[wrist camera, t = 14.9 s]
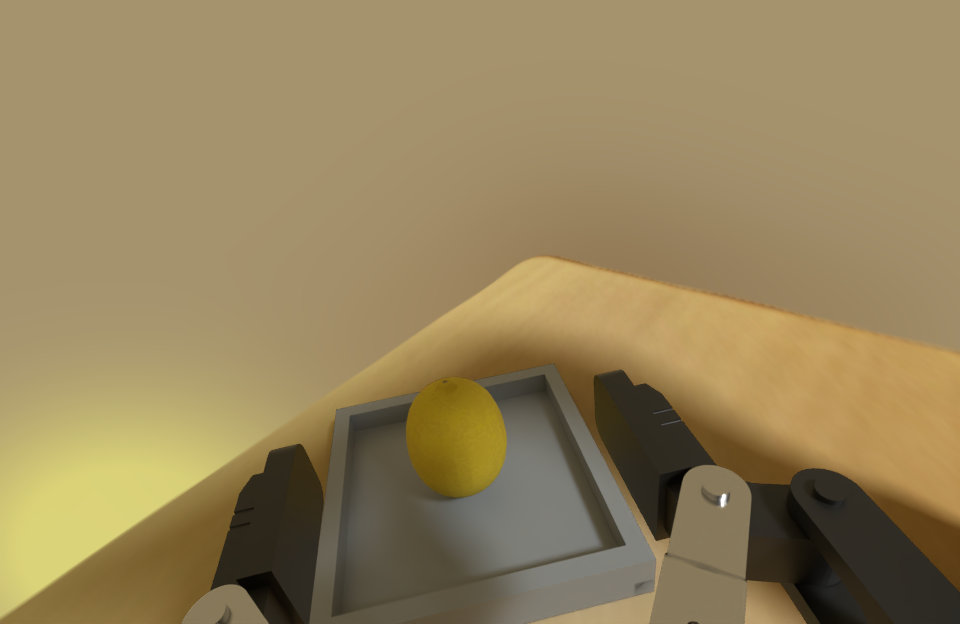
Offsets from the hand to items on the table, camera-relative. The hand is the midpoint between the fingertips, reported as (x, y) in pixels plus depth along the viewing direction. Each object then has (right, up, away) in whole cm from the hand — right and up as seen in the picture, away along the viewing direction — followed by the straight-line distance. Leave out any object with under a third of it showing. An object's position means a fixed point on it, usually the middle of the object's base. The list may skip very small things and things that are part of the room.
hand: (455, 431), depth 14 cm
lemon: (0, -7, +16) cm, 18 cm away
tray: (0, -8, +17) cm, 19 cm away
